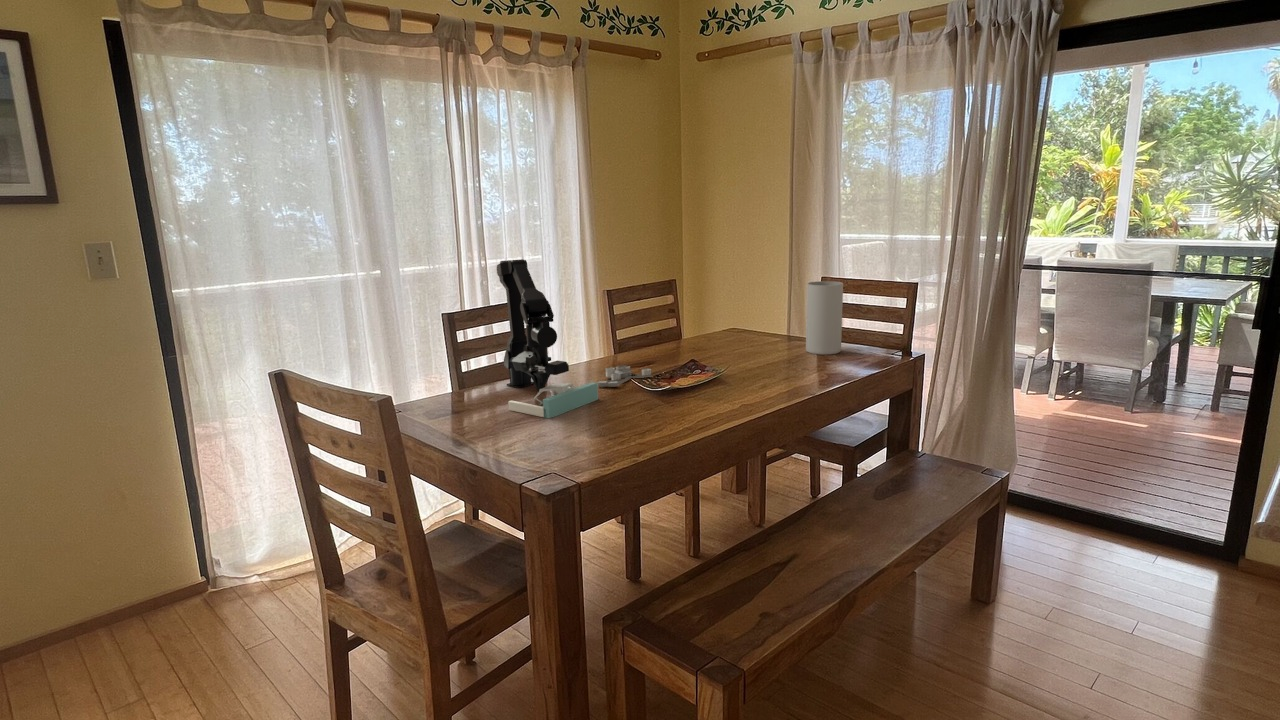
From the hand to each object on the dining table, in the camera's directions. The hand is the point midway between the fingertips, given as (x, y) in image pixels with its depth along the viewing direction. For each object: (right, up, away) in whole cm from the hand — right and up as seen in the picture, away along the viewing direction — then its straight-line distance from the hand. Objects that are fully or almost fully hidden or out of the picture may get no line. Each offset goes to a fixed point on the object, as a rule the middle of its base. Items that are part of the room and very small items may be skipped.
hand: (540, 393), depth 206 cm
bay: (+4, -3, -2) cm, 6 cm away
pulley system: (+26, +3, +24) cm, 35 cm away
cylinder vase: (+96, +13, +54) cm, 111 cm away
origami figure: (+4, -3, 0) cm, 5 cm away
